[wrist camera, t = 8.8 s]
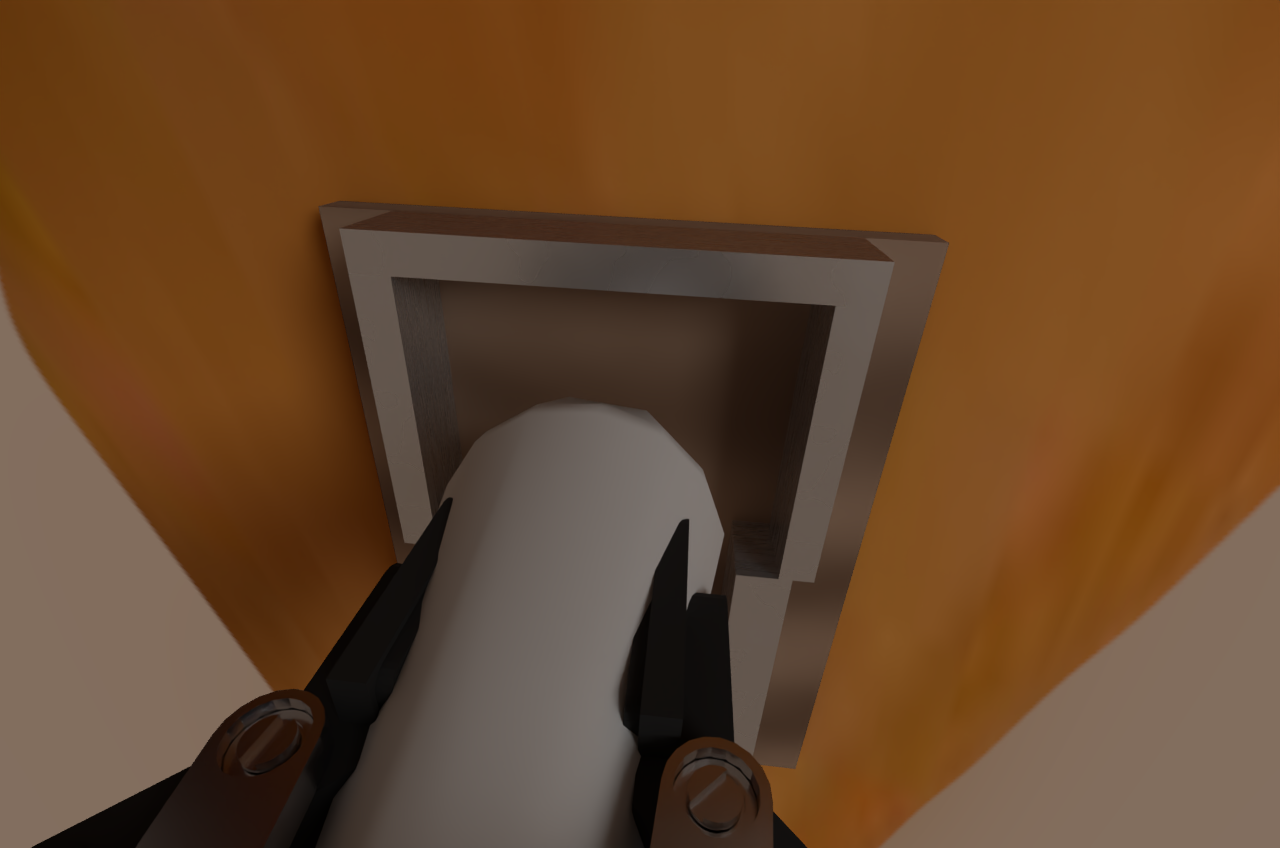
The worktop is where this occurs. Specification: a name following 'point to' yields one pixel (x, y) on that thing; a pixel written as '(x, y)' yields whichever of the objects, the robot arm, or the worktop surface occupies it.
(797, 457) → the keyhole rails
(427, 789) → the salt shaker
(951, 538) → the worktop surface
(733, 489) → the keyhole board
